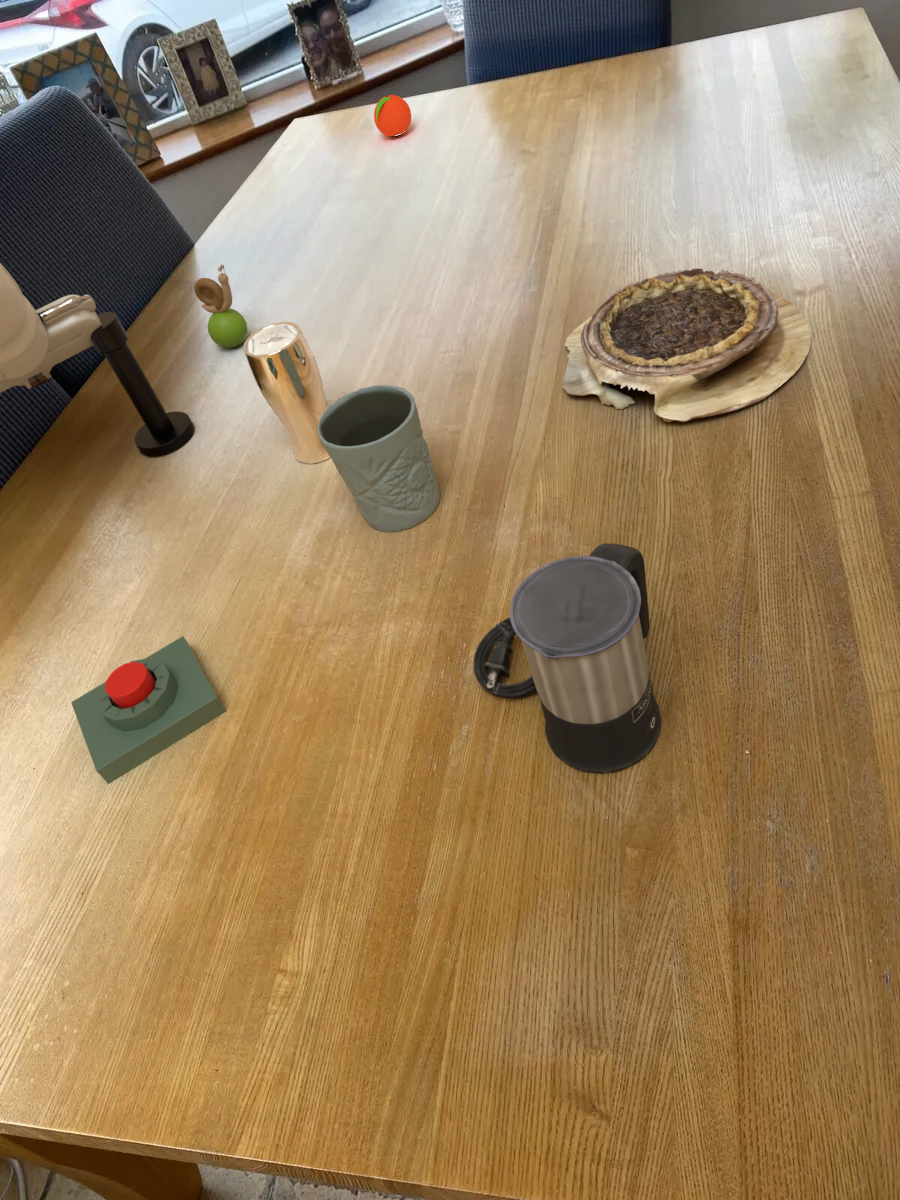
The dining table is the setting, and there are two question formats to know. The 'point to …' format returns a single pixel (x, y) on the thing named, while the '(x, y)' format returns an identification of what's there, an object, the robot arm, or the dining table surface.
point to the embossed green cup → (382, 456)
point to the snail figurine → (221, 311)
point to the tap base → (150, 408)
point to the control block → (148, 712)
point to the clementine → (392, 115)
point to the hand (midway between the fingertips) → (37, 378)
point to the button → (129, 684)
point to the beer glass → (290, 385)
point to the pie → (688, 344)
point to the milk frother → (582, 657)
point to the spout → (106, 336)
